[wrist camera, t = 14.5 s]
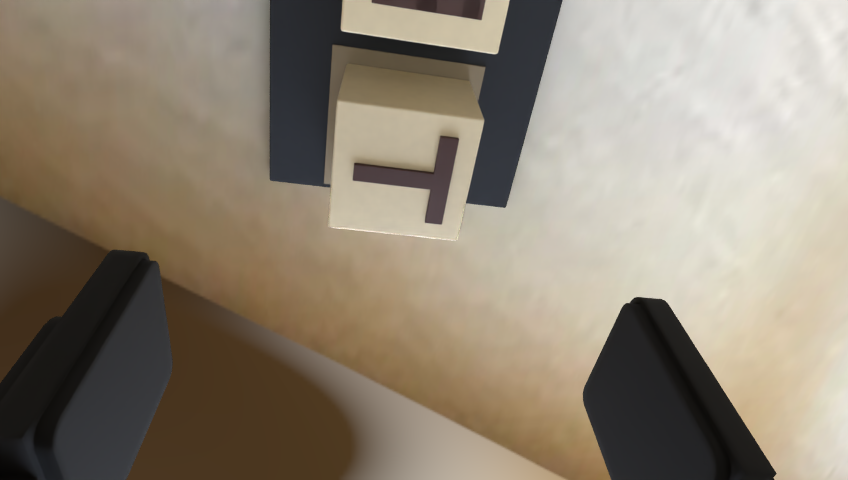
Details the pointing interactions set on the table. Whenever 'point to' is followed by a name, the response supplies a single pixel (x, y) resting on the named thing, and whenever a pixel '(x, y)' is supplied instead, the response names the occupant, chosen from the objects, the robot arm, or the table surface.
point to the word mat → (333, 49)
